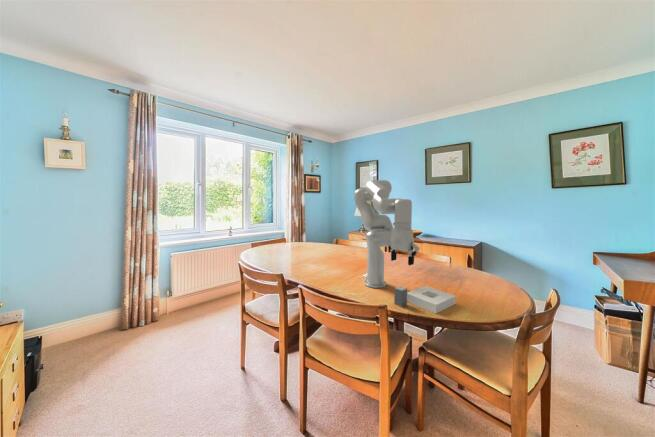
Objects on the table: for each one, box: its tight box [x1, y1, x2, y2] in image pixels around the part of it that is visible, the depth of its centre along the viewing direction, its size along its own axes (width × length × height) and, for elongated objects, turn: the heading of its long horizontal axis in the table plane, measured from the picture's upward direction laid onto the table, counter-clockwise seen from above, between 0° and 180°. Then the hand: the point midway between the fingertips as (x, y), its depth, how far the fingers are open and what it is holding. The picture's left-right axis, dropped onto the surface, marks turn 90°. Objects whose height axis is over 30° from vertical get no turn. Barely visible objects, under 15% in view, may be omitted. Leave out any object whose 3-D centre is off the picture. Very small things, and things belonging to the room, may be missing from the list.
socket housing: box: [407, 285, 456, 314], centre depth 120 cm, size 16×16×4 cm
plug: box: [394, 285, 408, 308], centre depth 118 cm, size 4×4×8 cm
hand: (402, 262), depth 116 cm, fingers open, 9 cm apart
